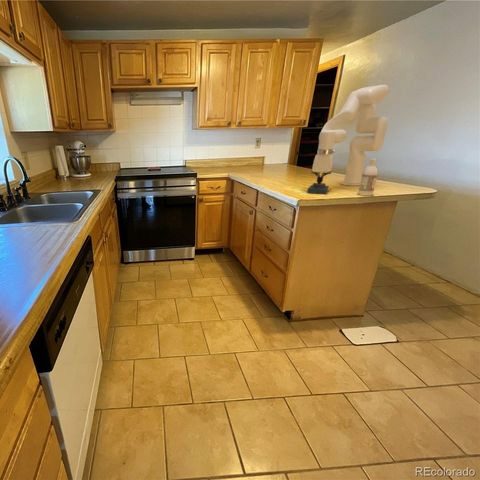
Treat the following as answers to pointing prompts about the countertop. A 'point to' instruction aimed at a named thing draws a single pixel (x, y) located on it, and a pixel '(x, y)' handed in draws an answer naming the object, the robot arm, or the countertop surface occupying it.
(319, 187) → the dispenser
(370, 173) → the bath foam
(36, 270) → the countertop surface
